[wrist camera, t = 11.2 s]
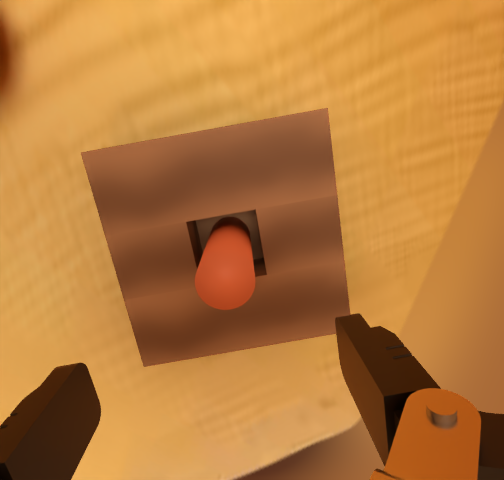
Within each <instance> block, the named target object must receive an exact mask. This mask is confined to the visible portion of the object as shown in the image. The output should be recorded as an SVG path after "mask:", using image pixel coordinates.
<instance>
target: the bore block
mask: <svg viewBox="0 0 504 480" xmlns="http://www.w3.org/2000/svg"><path fill="white" fill-rule="evenodd" d="M81 155H82V159H83V162H84V165H85V169H86V172H87V175H88V179H89V182H90V186H91V189H92V192H93V196H94V199H95V203H96V206H97V209H98V213H99V216H100V220H101V223H102V226H103V230H104V233H105V237H106V240H107V243H108V247H109V250H110V254H111V257H112V260H113V264H114V267H115V271H116V274H117V277H118V281H119V284H120V288H121V291H122V294H123V298H124V301H125V305H126V308H127V311H128V315H129V318H130V321H131V325H132V328H133V332H134V335H135V338H136V342H137V345H138V349H139V352H140V355H141V359H142V362H143V366H144V367H146V366H152V365H157V364H163V363H169V362H175V361H180V360H186V359H192V358H198V357H204V356H209V355H215V354H221V353H227V352H232V351H238V350H244V349H250V348H256V347H261V346H267V345H273V344H279V343H284V342H290V341H296V340H302V339H307V338H313V337H319V336H325V335H331V334H336V327H335V318H336V317H341V316H347V315H350V308H349V299H348V290H347V281H346V272H345V263H344V253H343V244H342V235H341V226H340V217H339V208H338V198H337V189H336V180H335V171H334V162H333V153H332V143H331V134H330V125H329V116H328V108H325V109H319V110H314V111H308V112H303V113H297V114H292V115H286V116H281V117H275V118H270V119H264V120H259V121H253V122H248V123H242V124H237V125H231V126H225V127H220V128H214V129H209V130H203V131H198V132H192V133H187V134H181V135H176V136H170V137H165V138H159V139H154V140H148V141H143V142H137V143H131V144H126V145H120V146H115V147H109V148H104V149H98V150H93V151H87V152H82V153H81ZM225 217H236V218H239V219H240V220H242V221H243V222H244V223H245V224H246V225H247V227H248V228H249V231H250V238H251V247H252V255H253V264H254V272H255V289H254V292H253V294H252V296H251V297H250V299H249V300H248V301H247V302H246V303H244V304H243V305H242V306H240V307H237V308H235V309H230V310H221V309H216V308H213V307H211V306H209V305H208V304H206V303H205V302H204V301H203V300H202V299H201V298H200V297H199V295H198V293H197V291H196V288H195V275H196V272H197V269H198V266H199V263H200V261H201V258H202V255H203V252H204V249H205V247H206V244H207V241H208V238H209V235H210V233H211V230H212V227H213V226H214V224H215V223H216V222H217V221H218V220H220V219H222V218H225Z"/></svg>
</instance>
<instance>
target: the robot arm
mask: <svg viewBox="0 0 504 480" xmlns="http://www.w3.org/2000/svg"><path fill="white" fill-rule="evenodd" d="M335 327H336V335H337V343H338V351H339V359H340V365H341V369H342V373H343V376H344V379H345V382H346V384H347V386H348V388H349V390H350V392H351V395H352V397H353V399H354V401H355V403H356V405H357V408H358V410H359V412H360V414H361V416H362V418H363V421H364V423H365V425H366V427H367V429H368V431H369V434H370V436H371V438H372V440H373V442H374V444H375V447H376V449H377V451H378V453H379V455H380V457H381V459H382V462H383V464H384V466H385V468H384V470H383V471H382V470H380V469H376V470H374V472H373V473H372V475H371V478H370V480H504V414H494V413H485V412H481V411H478V410H477V409H476V408H475V406H474V405H473V404H472V403H471V402H469V401H468V400H467V399H465V398H464V397H462V396H460V395H458V394H456V393H453V392H451V391H448V390H444V389H441V388H440V387H439V386H438V385H437V383H436V382H435V381H434V380H433V379H432V377H431V376H430V375H429V374H428V373H427V372H426V370H425V369H424V368H423V367H422V366H421V364H420V363H419V362H418V361H417V360H416V358H415V357H414V356H412V355H411V353H410V351H409V350H408V349H407V348H406V347H404V344H403V343H402V342H401V341H400V340H399V338H398V337H397V336H396V335H395V334H394V333H392V332H390V331H389V330H387V329H385V328H383V327H381V326H378V327H373V328H370V327H369V325H368V324H367V323H366V321H365V320H364V318H363V317H362V316H361V315H360V314H359V313H358V314H352V315H347V316H341V317H336V318H335ZM100 416H101V406H100V402H99V399H98V396H97V393H96V390H95V388H94V385H93V382H92V379H91V376H90V374H89V371H88V368H87V366H86V365H85V364H84V363H76V364H70V365H65V366H59V367H56V368H55V369H54V370H53V371H52V372H51V373H50V375H49V376H48V377H47V378H46V379H45V381H44V382H43V383H42V384H41V385H40V387H38V388H37V389H36V390H34V391H33V392H32V393H31V394H29V395H28V396H27V397H25V398H24V399H23V400H22V401H21V402H20V403H19V405H18V406H17V407H16V408H15V409H14V410H13V412H12V413H11V416H10V417H7V419H6V420H5V421H4V422H3V423H2V425H1V426H0V480H71V478H72V476H73V474H74V472H75V470H76V468H77V466H78V464H79V462H80V460H81V458H82V456H83V454H84V452H85V450H86V448H87V446H88V444H89V442H90V440H91V438H92V436H93V434H94V432H95V430H96V428H97V426H98V424H99V421H100Z"/></svg>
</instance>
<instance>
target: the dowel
mask: <svg viewBox="0 0 504 480" xmlns="http://www.w3.org/2000/svg"><path fill="white" fill-rule="evenodd" d="M195 288H196V291H197V293H198V295H199V297H200V298H201V299H202V300H203V301H204V302H205V303H206V304H208V305H209V306H211V307H213V308H216V309H221V310H230V309H235V308H237V307H240V306H242V305H243V304H244V303H246V302H247V301H248V300H249V299H250V297H251V296H252V294H253V292H254V289H255V272H254V264H253V255H252V247H251V238H250V231H249V228H248V227H247V225H246V224H245V223H244V222H243V221H242V220H240V219H239V218H236V217H225V218H222V219H220V220H218V221H217V222H216V223H215V224H214V226H213V227H212V230H211V233H210V235H209V238H208V241H207V244H206V247H205V249H204V252H203V255H202V258H201V261H200V263H199V266H198V269H197V272H196V275H195Z"/></svg>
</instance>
